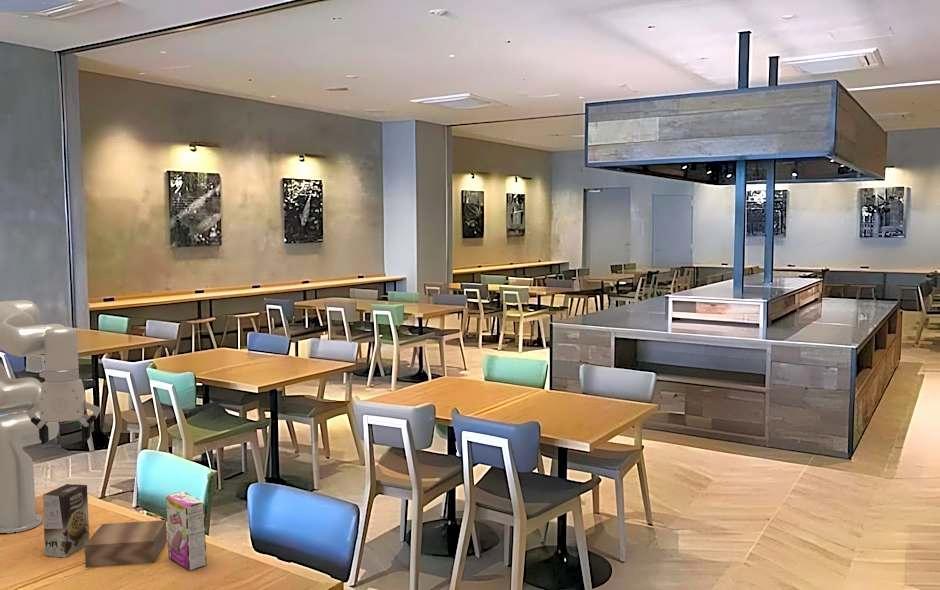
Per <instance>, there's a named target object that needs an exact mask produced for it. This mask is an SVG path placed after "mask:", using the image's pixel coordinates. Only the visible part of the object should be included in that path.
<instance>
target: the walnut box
mask: <svg viewBox="0 0 940 590" xmlns="http://www.w3.org/2000/svg"><path fill="white" fill-rule="evenodd" d="M166 543H168V533H167V519H163V520H162V519H161V520H145V521H144V520H143V521H129V522H128V521H127V522H113V523H112V522H111V523H102V524H101V525H100V526H99V527H98V528H97V530H96V531H95V532H94V534H93V535H92V536H91V537H89V541H88V542H87V543H86V544H85V547H84V558H85V560H84V561H85V562H84V563H85V568H99V567H114V566H128V565H130V566H131V565H144V564H154V563H156V561H157V559H158V557H159V556H158V555H160V554H161V552H162V550H163V549H164V547H165V544H166Z"/></svg>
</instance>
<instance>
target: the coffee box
mask: <svg viewBox="0 0 940 590" xmlns="http://www.w3.org/2000/svg"><path fill="white" fill-rule="evenodd" d="M42 510H43V511H42V513H43V531H44V533H43V534H44V535H43V536H44V555H45V557H46V556H47V557H55V558H68V557H69V556H71V555H72V554H75V553H77V552H78V551H80V550H81V549H83V548H85V544H86V543H87V542H88V541H89V539H90V525H89V524H90V523H89V521H90V520H89V503H88V485H86V484H78V483H76V484H75V483H74V484H71V483H66V484H64V485H62V486H59V487H57V488H55V489H53V490H51V491H48V492H45V493H43V494H42Z"/></svg>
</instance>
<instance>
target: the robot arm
mask: <svg viewBox="0 0 940 590" xmlns="http://www.w3.org/2000/svg"><path fill="white" fill-rule="evenodd" d="M40 321H41V311H40V309H39V307H38V306H37V304H35V302H33V301H31V300H27V299H20V300H18V299H17V300H16V299H15V300H5V301H0V351H3V352H5V353H7V354H9V355H11V356H14V357H21V358H22V357H30V356H38V355H44V370H43V371H39V375H38V377H40V378H42V379H43V378H44V381H43V382H41V381H40V380H39V379H37V378H35V377H31V376H30V377H20V378H14V379H13V378H10V376H9V375H8V372H7V371H6V368H5V366H4V365H3V364H2V363H1V362H0V533H7V534H15V533H14V532H16V533H20V532H24V531H28V530H31V529H33V528H36V527H38V526H39V525H41V524H42V523H43V516H42V515H41V514H38V513H37V511H36V509H37V508H36V491H35V474H34V473H35V472H34V461H33V458H32V457H31V456H30V455H29V454H28V453H27V452H26V451H25V450H24V448H25V447H28V446H31V445H36V444H37V445H38V444H42V445H45V444H46V443H48V442H49V441H51V440H53V439H55V438H56V437H57V435H58V434H59V431H60V425H59V422H75V421H79V423H81V424H82V427H81V442H82V443H87V441H89V439H90V438H91V436H92V435H91V424H93V422H95V420H96V419H97V418H98V416H99V415H100V412H101V407H99V406H97V405H94V404H92V403H90V402H88V401H87V397H86V393H85V387H84V384H83V383H84V382H83V380H82V379H81V378H80V374H79V371H80V370H79V351H78V350H79V349H78V347H79V346H78V333H77V330H76V329H75V328H74V327H70V326H65V325H63V324H61V323H50V324H49V323H48V324H40ZM88 410H89V411H91V412H92V413H91V416H90V417H89V416H87V411H88Z"/></svg>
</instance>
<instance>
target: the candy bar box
mask: <svg viewBox="0 0 940 590" xmlns="http://www.w3.org/2000/svg"><path fill="white" fill-rule="evenodd" d="M165 507H166V509H165V510H166V526H167V546H168V547H167V549H168V550H167V551H168V559H170V560H171V561H173V562H174V563H176V564H178V566H179V565H180V566H181V567H183V568H184V569H185V570H187V571H189V572H190V571H194V570H196V569H201V568H202V567H205V566H207V546H206V545H207V544H206V543H207V541H206V538H207V537H206V518H205V517H206V516H205V501H203V500H201V499H199V498H197V497H195V496H193V495H191V494H189V493H187V492H185V491H179V492H175V493H171V494H168V495H165Z"/></svg>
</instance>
